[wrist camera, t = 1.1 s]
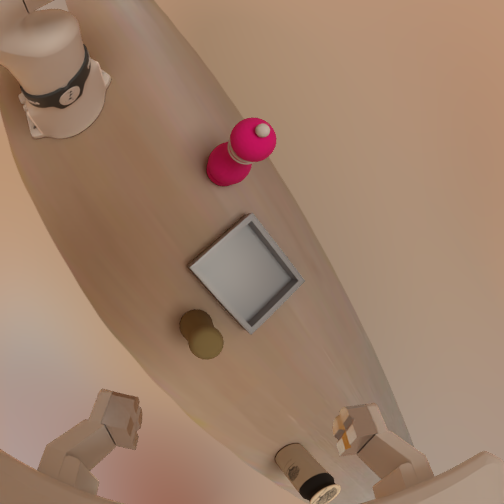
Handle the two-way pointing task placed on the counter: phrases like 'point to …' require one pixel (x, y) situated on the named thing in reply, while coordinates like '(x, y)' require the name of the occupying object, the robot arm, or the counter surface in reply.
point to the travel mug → (307, 474)
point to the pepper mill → (241, 151)
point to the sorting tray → (247, 273)
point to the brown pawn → (201, 334)
